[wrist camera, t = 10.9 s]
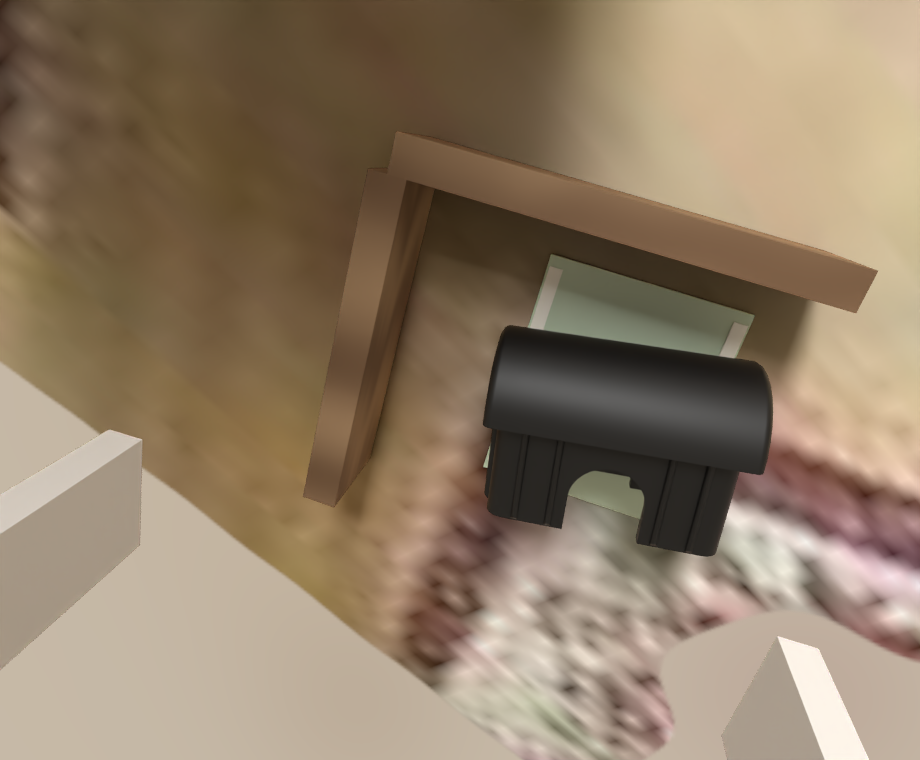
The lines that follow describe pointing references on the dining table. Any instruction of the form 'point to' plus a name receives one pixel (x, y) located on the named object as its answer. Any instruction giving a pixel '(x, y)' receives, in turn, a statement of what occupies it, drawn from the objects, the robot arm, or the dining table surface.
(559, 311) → the pad
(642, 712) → the dining table surface
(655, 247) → the brown l-shaped piece
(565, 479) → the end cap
